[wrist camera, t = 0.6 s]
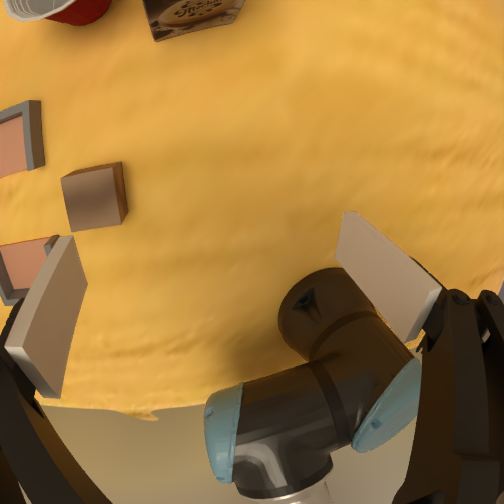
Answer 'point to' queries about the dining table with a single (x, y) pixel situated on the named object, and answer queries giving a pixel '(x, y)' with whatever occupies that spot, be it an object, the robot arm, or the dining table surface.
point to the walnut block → (95, 197)
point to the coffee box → (188, 15)
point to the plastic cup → (57, 10)
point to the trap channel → (8, 162)
